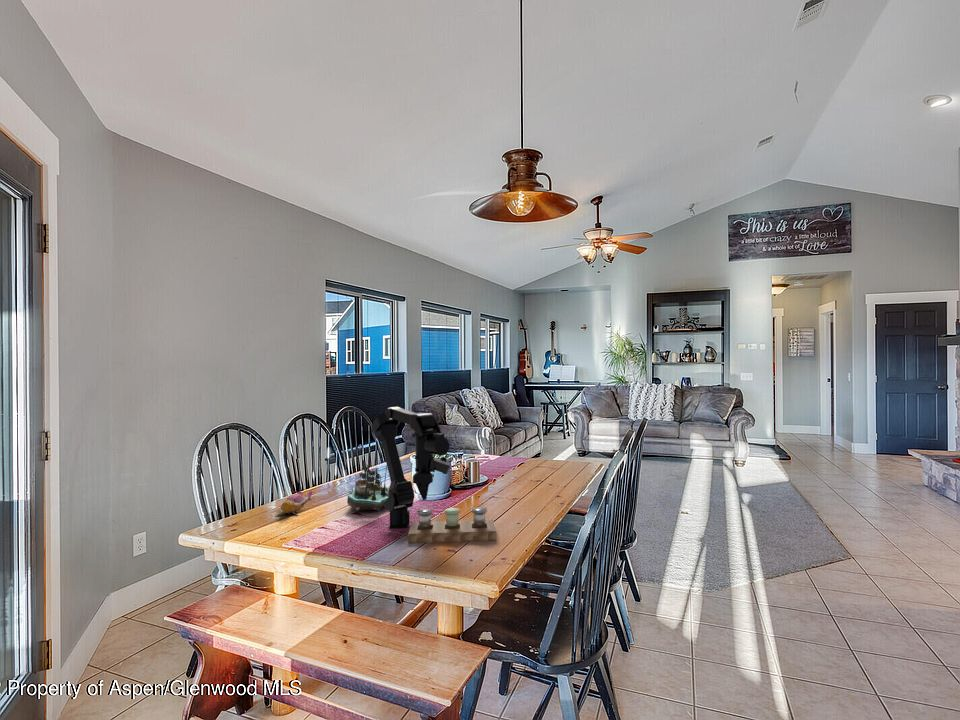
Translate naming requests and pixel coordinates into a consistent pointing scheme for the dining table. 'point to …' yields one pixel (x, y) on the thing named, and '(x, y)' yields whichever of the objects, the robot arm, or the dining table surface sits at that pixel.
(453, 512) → the sage plug
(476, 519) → the plunger
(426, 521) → the plunger
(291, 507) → the figurine
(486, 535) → the walnut board
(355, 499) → the diorama
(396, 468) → the robot arm
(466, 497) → the dining table surface
